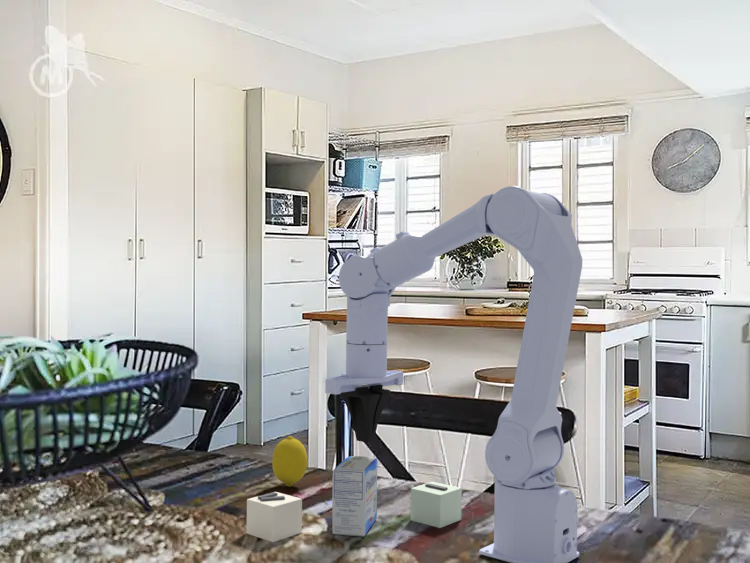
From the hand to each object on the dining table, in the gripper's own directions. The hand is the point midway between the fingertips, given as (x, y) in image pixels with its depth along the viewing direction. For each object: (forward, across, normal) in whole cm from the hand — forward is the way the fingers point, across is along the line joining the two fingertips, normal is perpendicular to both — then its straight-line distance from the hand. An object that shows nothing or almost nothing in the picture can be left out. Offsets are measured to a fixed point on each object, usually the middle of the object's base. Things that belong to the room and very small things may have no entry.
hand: (364, 440), depth 110 cm
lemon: (+11, -4, -19) cm, 22 cm away
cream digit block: (+11, +13, -4) cm, 17 cm away
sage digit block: (+11, -6, +8) cm, 15 cm away
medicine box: (+11, +4, +2) cm, 12 cm away
